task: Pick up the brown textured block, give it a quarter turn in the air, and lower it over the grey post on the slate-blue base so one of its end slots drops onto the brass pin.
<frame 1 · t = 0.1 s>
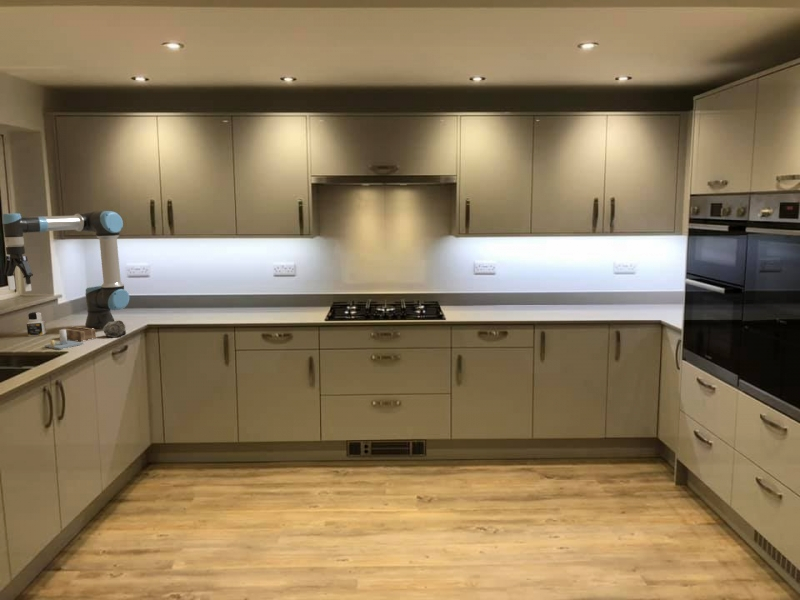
hand: (20, 290, 293), 28 cm above the worktop, tool pointing down, fingers open, 13 cm apart
post block: (64, 345, 297), on the worktop
medicine bottle: (37, 334, 327), on the worktop
brown textured block: (78, 338, 314), on the worktop
fossil: (115, 336, 319), on the worktop
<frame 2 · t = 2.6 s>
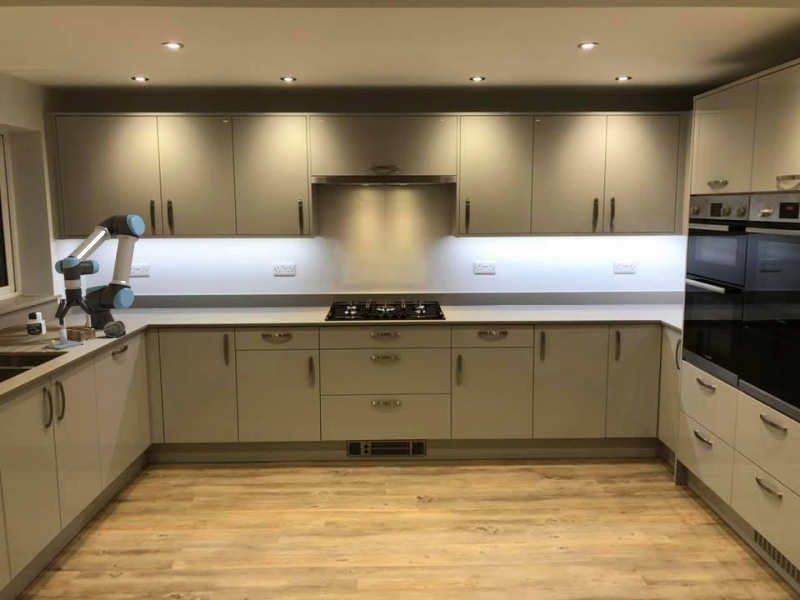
hand: (76, 329, 313), 5 cm above the worktop, tool pointing down, fingers open, 13 cm apart
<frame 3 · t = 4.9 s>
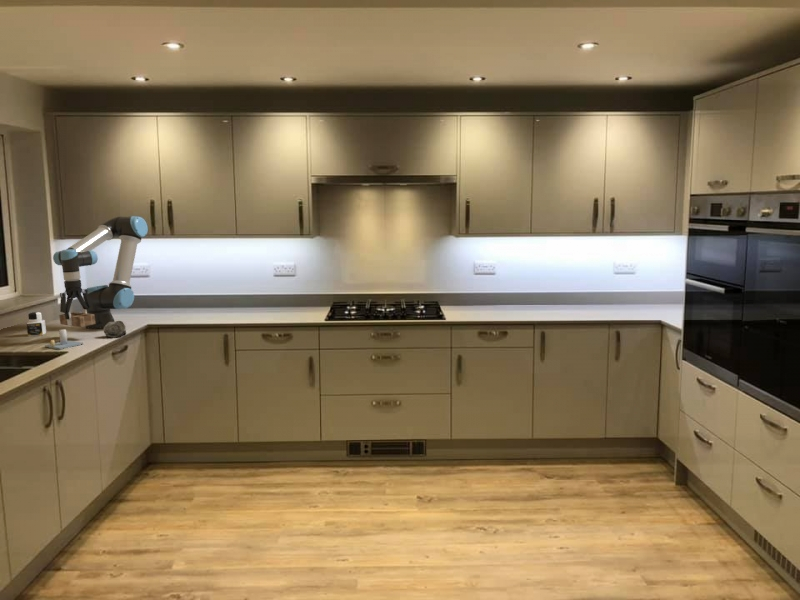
hand: (77, 323, 314), 8 cm above the worktop, tool pointing down, fingers closed on brown textured block, 8 cm apart
brown textured block: (78, 324, 314), point 7 cm above the worktop, touching gripper
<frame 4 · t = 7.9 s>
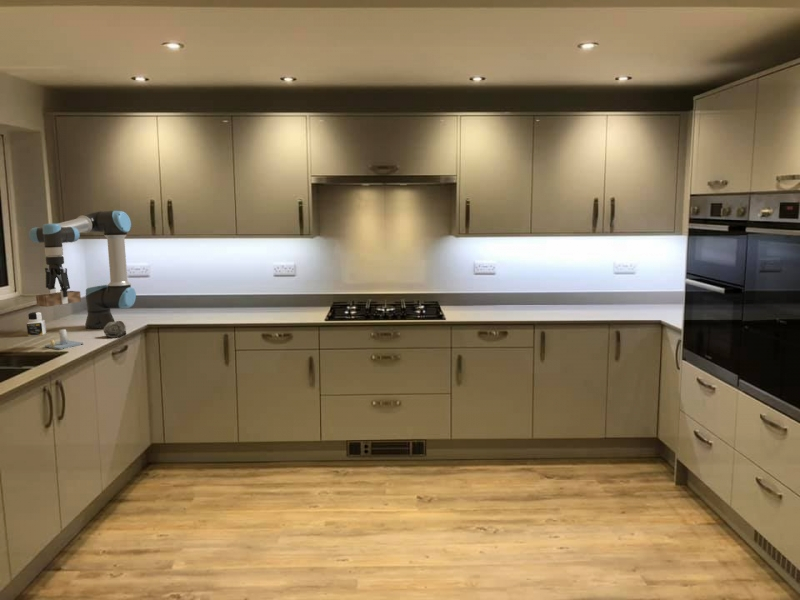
hand: (59, 303, 294), 21 cm above the worktop, tool pointing down, fingers closed on brown textured block, 8 cm apart
brown textured block: (59, 303, 294), point 21 cm above the worktop, touching gripper
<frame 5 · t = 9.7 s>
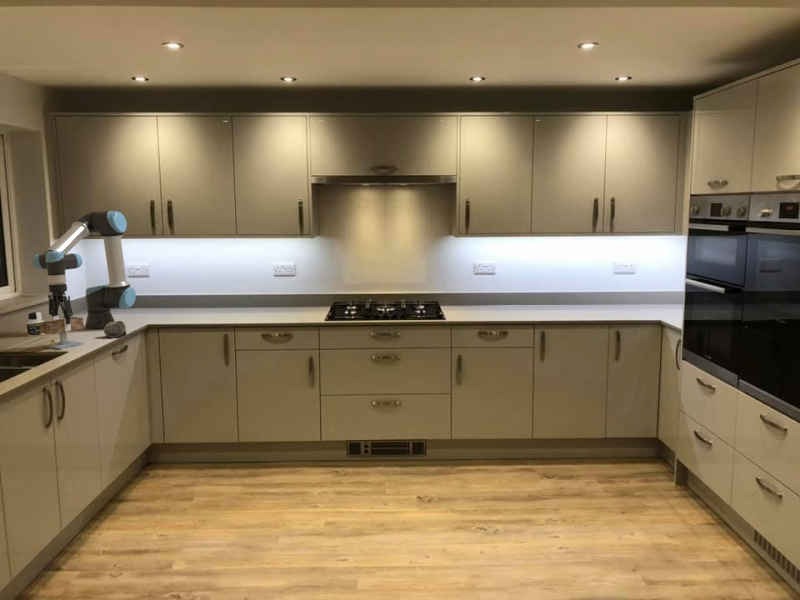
hand: (62, 329, 296), 8 cm above the worktop, tool pointing down, fingers closed on brown textured block, 8 cm apart
brown textured block: (62, 330, 296), point 8 cm above the worktop, touching gripper
when the fingers open (3 cm above the worktop, at t = 11.2 s): brown textured block drops 1 cm, resting on post block.
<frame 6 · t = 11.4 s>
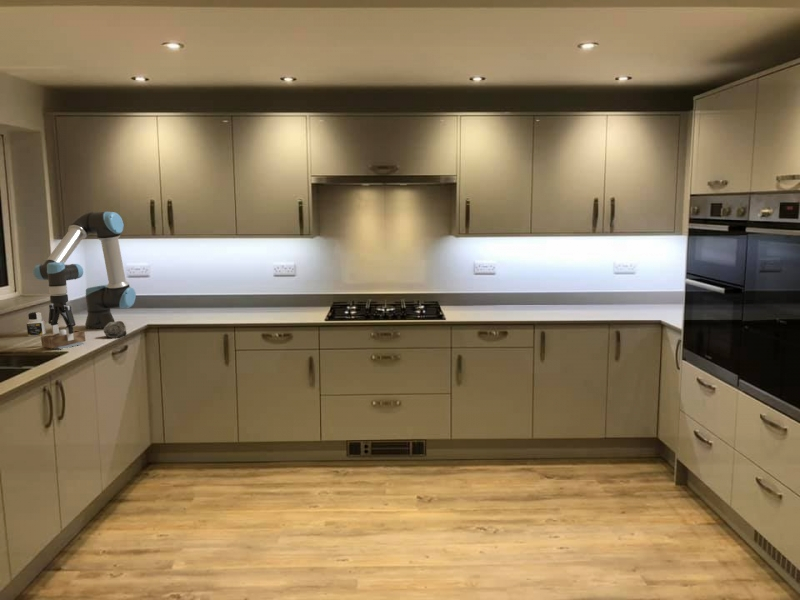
hand: (63, 339, 297), 3 cm above the worktop, tool pointing down, fingers open, 10 cm apart
brown textured block: (64, 343, 297), point 1 cm above the worktop, touching post block
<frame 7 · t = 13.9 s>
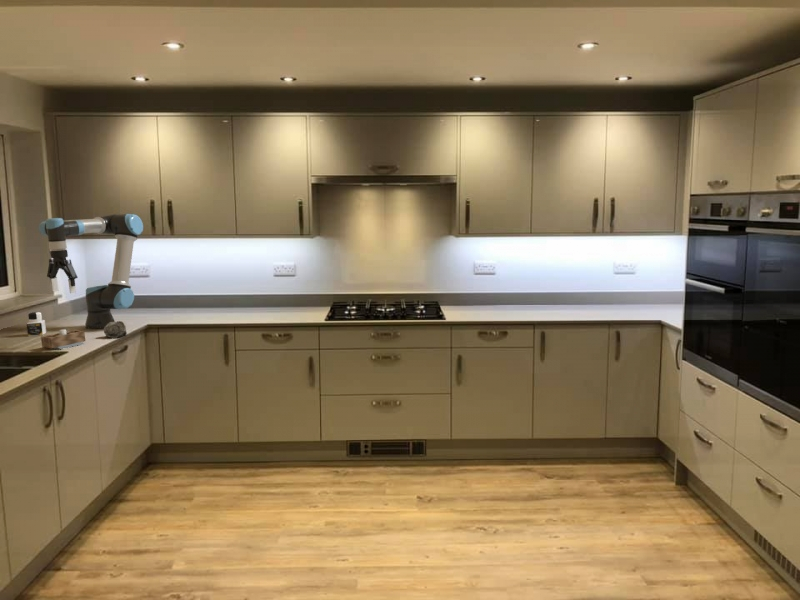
hand: (64, 292, 305), 25 cm above the worktop, tool pointing down, fingers open, 13 cm apart
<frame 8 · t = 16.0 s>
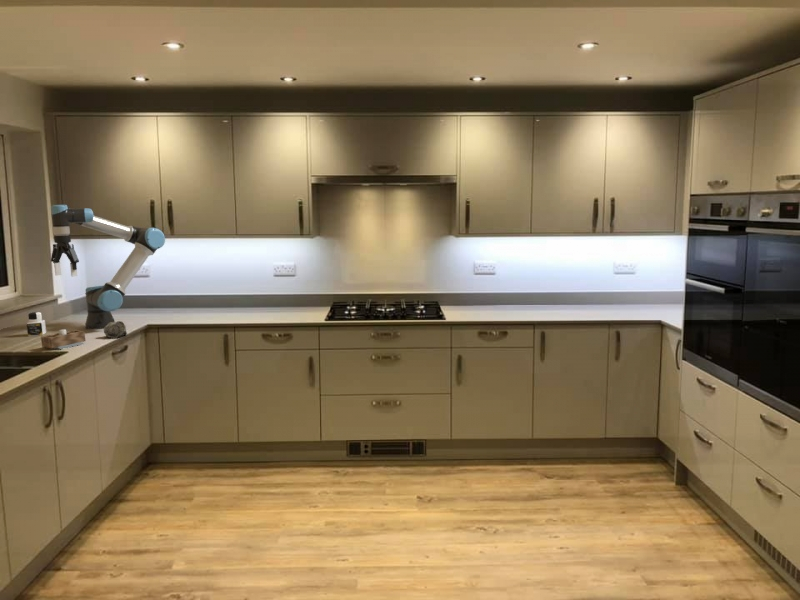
hand: (66, 275, 318), 32 cm above the worktop, tool pointing down, fingers open, 13 cm apart
at the end: brown textured block 0.0 cm off-centre on the post block, point 1.0 cm above the post block's base; brown textured block tilted 0° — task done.
